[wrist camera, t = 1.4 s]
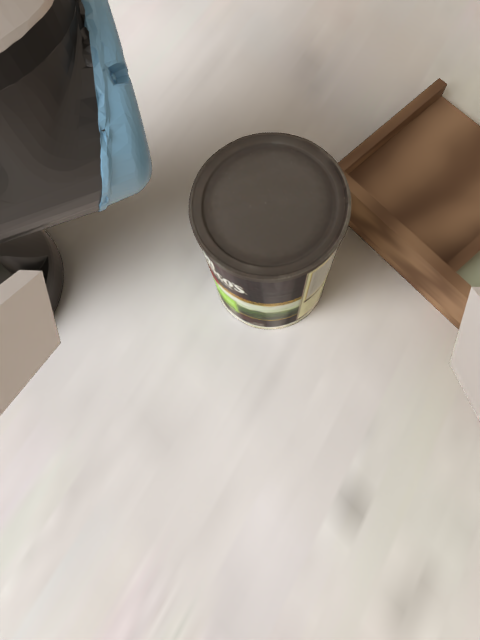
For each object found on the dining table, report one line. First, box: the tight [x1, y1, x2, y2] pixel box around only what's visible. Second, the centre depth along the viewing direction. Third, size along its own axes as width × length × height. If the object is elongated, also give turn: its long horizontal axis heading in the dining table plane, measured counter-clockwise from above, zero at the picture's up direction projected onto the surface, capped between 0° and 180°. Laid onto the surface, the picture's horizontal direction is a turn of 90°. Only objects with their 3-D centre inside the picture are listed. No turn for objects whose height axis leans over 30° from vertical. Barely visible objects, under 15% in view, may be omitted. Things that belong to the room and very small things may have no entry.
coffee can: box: [189, 133, 351, 329], centre depth 34 cm, size 10×10×14 cm
